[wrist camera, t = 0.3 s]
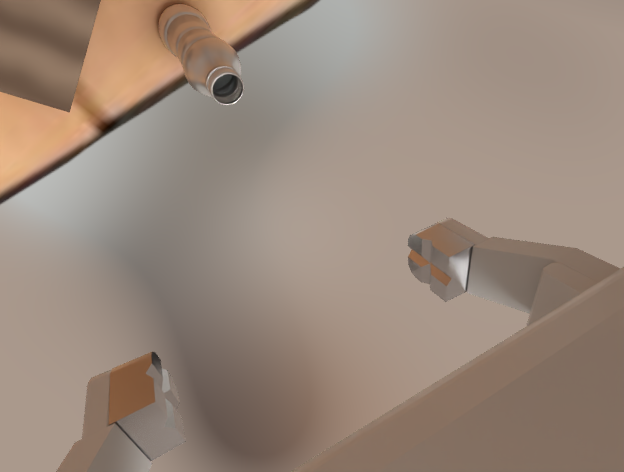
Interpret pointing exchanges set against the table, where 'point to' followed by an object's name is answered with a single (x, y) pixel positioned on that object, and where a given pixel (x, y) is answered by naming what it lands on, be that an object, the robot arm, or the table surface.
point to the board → (44, 48)
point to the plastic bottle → (202, 54)
